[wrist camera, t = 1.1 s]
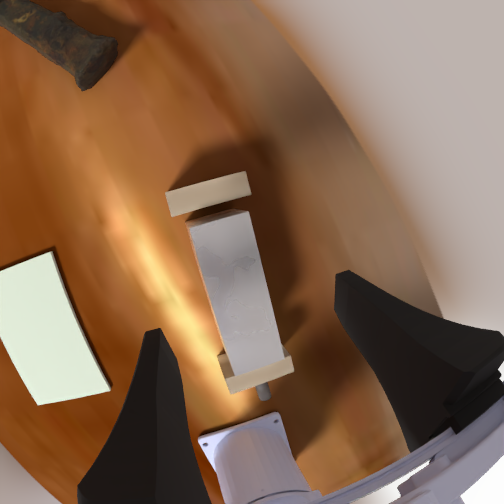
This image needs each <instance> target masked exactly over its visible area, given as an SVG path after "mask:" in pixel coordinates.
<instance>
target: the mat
mask: <svg viewBox="0 0 504 504" xmlns="http://www.w3.org/2000/svg"><path fill="white" fill-rule="evenodd" d="M0 337H1V339H2V341H3V343H4V345H5V347H6V349H7V351H8V353H9V355H10V357H11V359H12V361H13V363H14V365H15V367H16V369H17V371H18V372H19V374H20V376H21V378H22V380H23V381H24V383H25V385H26V386H27V388H28V390H29V391H30V393H31V395H32V396H33V398H34V400H35V401H36V403H37V404H38V405H42V404H47V403H53V402H59V401H64V400H69V399H74V398H79V397H84V396H89V395H93V394H98V393H102V392H107V391H110V390H111V387H110V385H109V383H108V382H107V380H106V378H105V376H104V374H103V372H102V370H101V368H100V366H99V364H98V362H97V360H96V358H95V356H94V354H93V352H92V350H91V348H90V346H89V344H88V342H87V339H86V337H85V335H84V333H83V331H82V328H81V326H80V324H79V321H78V319H77V317H76V314H75V312H74V309H73V307H72V305H71V302H70V300H69V297H68V294H67V292H66V289H65V286H64V284H63V281H62V278H61V275H60V273H59V270H58V267H57V264H56V261H55V258H54V255H53V252H52V251H51V252H48V253H45V254H43V255H40V256H37V257H35V258H32V259H30V260H27V261H24V262H22V263H19V264H17V265H14V266H12V267H9V268H7V269H4V270H2V271H0Z"/></svg>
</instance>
